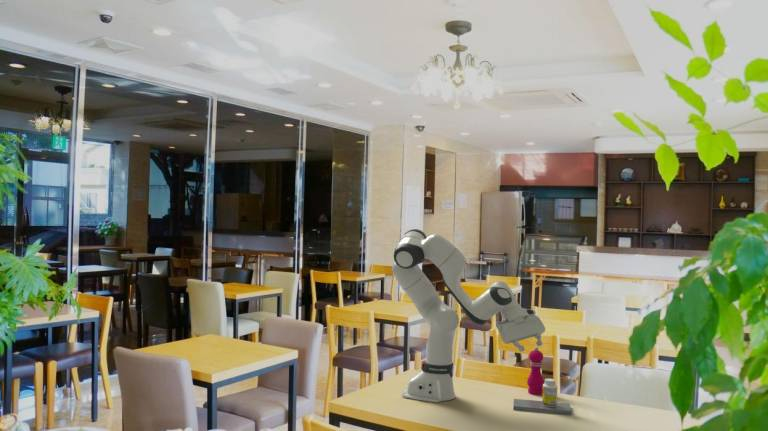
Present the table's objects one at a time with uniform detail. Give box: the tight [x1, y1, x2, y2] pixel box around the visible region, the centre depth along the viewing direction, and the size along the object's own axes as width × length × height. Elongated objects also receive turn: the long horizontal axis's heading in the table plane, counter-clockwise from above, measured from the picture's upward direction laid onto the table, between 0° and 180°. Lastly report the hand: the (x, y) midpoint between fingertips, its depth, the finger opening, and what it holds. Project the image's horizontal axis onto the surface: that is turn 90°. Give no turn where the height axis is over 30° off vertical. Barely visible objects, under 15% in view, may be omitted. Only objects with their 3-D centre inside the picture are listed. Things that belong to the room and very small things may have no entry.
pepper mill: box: [526, 346, 545, 396], centre depth 259 cm, size 7×7×20 cm
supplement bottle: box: [541, 378, 558, 407], centre depth 237 cm, size 6×6×10 cm
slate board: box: [512, 398, 573, 416], centre depth 238 cm, size 22×10×2 cm, turn 77°
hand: (531, 347), depth 236 cm, fingers open, 8 cm apart
